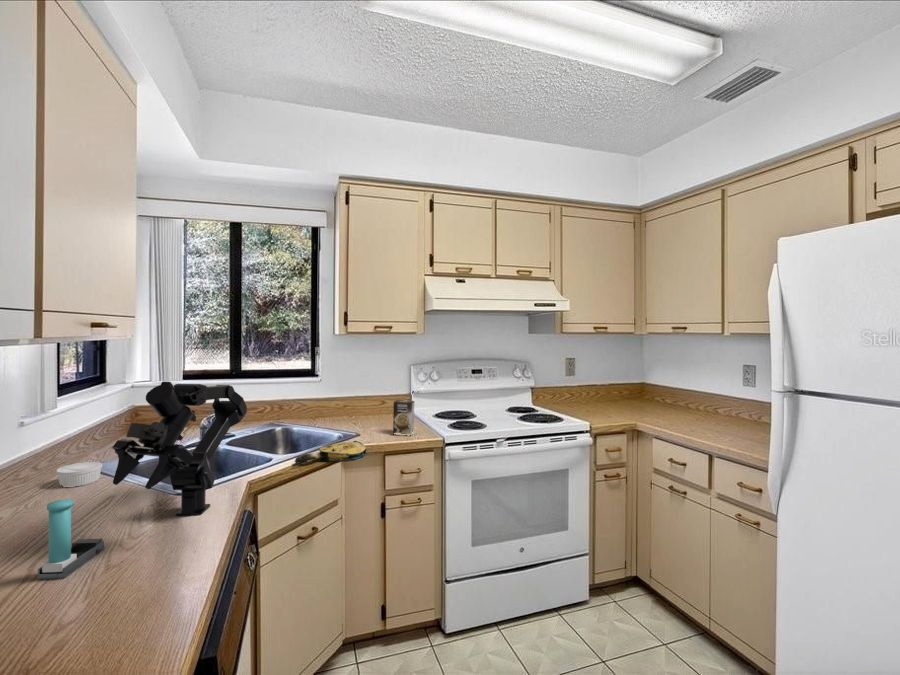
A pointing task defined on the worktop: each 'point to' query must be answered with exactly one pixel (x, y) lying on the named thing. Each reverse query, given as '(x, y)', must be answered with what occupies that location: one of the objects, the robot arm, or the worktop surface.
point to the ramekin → (79, 473)
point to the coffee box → (403, 417)
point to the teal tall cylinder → (59, 536)
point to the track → (84, 553)
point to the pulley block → (337, 453)
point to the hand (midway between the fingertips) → (130, 486)
